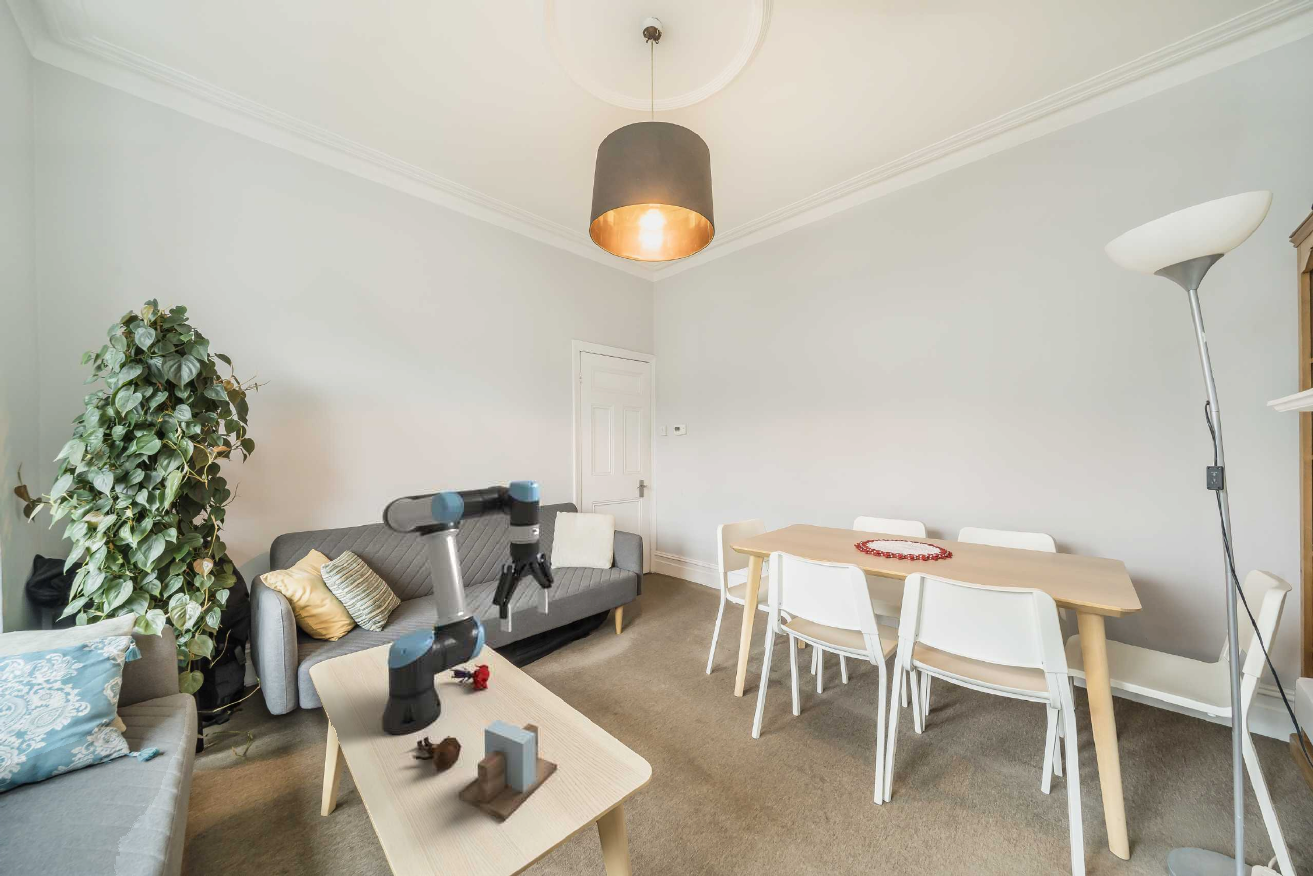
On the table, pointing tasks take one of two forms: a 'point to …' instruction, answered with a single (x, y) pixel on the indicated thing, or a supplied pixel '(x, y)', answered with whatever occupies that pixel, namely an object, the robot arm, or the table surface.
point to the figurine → (474, 676)
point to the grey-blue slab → (513, 753)
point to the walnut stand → (503, 783)
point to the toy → (440, 752)
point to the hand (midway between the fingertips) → (525, 621)
